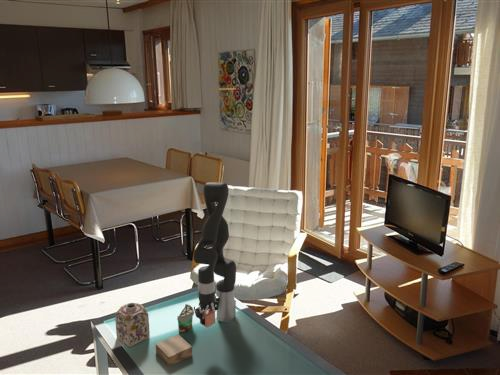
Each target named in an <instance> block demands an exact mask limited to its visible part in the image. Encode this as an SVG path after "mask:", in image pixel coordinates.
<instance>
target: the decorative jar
mask: <svg viewBox="0 0 500 375" xmlns="http://www.w3.org/2000/svg"><path fill="white" fill-rule="evenodd" d="M114 318H115V331H116V332H115V333H116V338H117V339H118V340H119V341H120V342H122V343H123V344H124V345H126V346H127V347H128V348H131V347H133V346H136V345H138V344H139V343H141V342H143V341H145V340H147V339H149V338H150V337H151V336H150V334H151V333H150V322H149V320H150V319H149V312H148V311H147V309H146V308H145V307H144V306H143V305H142V304H140V303H135V302H129V303H126V304H123V305H122V306H120V308H119V309H118V310H117V311H116V312H115V313H114Z"/></svg>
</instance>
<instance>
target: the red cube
mask: <svg viewBox="0 0 500 375" xmlns="http://www.w3.org/2000/svg"><path fill="white" fill-rule="evenodd" d="M203 311H204V310H203ZM202 315H203V313H202ZM199 324H200V325H202V324H201V323H200V322H199ZM214 324H216V311H215V312H214V311H212V310H211V309H208V310H207V313H206V314H205V325H203V327H205V328H209V327H211V326H214Z"/></svg>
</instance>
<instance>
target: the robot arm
mask: <svg viewBox="0 0 500 375" xmlns="http://www.w3.org/2000/svg"><path fill="white" fill-rule="evenodd" d="M203 197H204V202H205V207H206V212H207V218H206V220H205V221H204V223H203V225H202V230H201V234H200V239H199V241H198V244H197V245H196V247H195V249H194V251H193V256H192V258H193V261H194V262H195V264H199V265H205V266H202V267H199V268H198V270H197V271H198V272H197V273H198V274H197V276H198V277H197V278H198V279H197V280H198V281H197V282H198V283H197V288H198V289H197V292H198V294H197V295H198V301H199V302H198V305H197V306H193V310H194V315H195V317H196V318H197V319H199V324H200V323H201V324H200V325H202V326H204V325H205V314H206V313H207V310H208V309H211V310H212V311H214V312H215V313H216V320H217V321H219V322H222V323H229V322H232V321H233V320H234V319H235V317H236V316H237V314H236V313H237V312H236V311H237V309H236V308H237V307H236V306H237V304H236V302H237V300H236V299H235V285H236V282H237V281H236V279H237V278H236V276H237V265H236V264H237V263H236V262H235V261H233V260H231V259H228V258H225V257H224V247H225V246H226V244H227V242H228V241H229V238H230V233H229V232H230V231H229V230H230V229H229V224H228V221H227V219H225V217H224V216H223V214H224V211H225V208H226V204H227V202H228V197H229V186H228V184H227V183H225V182H215V181H214V182H211V181H210V182H205V184H204V186H203ZM216 203H217V205H216ZM207 246H211V248H207ZM215 275H217V276H218V277H219V276H220V277H222V278H223V279H220V280H218V281H217V283H215ZM203 310H204V311H203ZM202 313H203V315H202Z"/></svg>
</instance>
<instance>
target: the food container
mask: <svg viewBox="0 0 500 375" xmlns="http://www.w3.org/2000/svg"><path fill="white" fill-rule="evenodd" d="M194 315H195V311H194V307H192V306H191V305H190V304H187V303H186V304H185V306H184V308H183V309H182V310H181V312H180V313H179V315H177V318H176V320H177V324H178V325H177V326H178V327H177V328H178V333H179V334H185V333H188V332H189V331H191V330H192V328H193V317H194Z"/></svg>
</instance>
